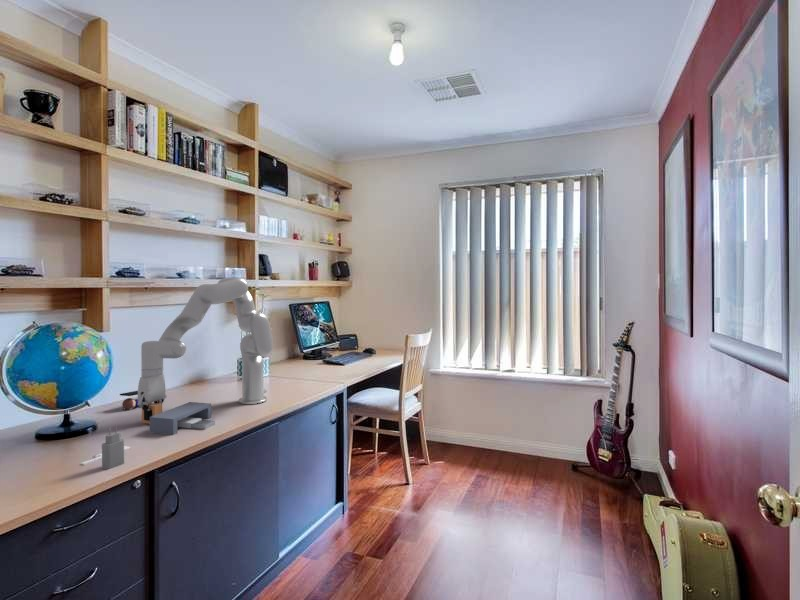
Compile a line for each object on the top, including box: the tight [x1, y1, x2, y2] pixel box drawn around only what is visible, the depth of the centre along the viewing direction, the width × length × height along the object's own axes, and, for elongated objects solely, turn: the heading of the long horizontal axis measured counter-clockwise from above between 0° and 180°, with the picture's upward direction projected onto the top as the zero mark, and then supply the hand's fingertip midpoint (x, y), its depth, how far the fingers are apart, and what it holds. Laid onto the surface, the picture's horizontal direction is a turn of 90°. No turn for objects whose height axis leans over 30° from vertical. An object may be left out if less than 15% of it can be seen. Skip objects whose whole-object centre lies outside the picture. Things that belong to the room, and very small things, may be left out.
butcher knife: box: [80, 445, 131, 466], centre depth 142 cm, size 5×15×1 cm, turn 158°
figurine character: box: [119, 390, 139, 411], centre depth 199 cm, size 7×8×15 cm
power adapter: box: [101, 424, 125, 470], centre depth 134 cm, size 3×5×12 cm, turn 156°
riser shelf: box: [149, 401, 212, 435], centre depth 174 cm, size 22×10×6 cm, turn 168°
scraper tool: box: [141, 402, 202, 429], centre depth 175 cm, size 6×23×7 cm, turn 77°
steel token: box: [190, 418, 216, 430], centre depth 172 cm, size 6×6×2 cm
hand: (152, 417), depth 176 cm, fingers closed on scraper tool, 4 cm apart
